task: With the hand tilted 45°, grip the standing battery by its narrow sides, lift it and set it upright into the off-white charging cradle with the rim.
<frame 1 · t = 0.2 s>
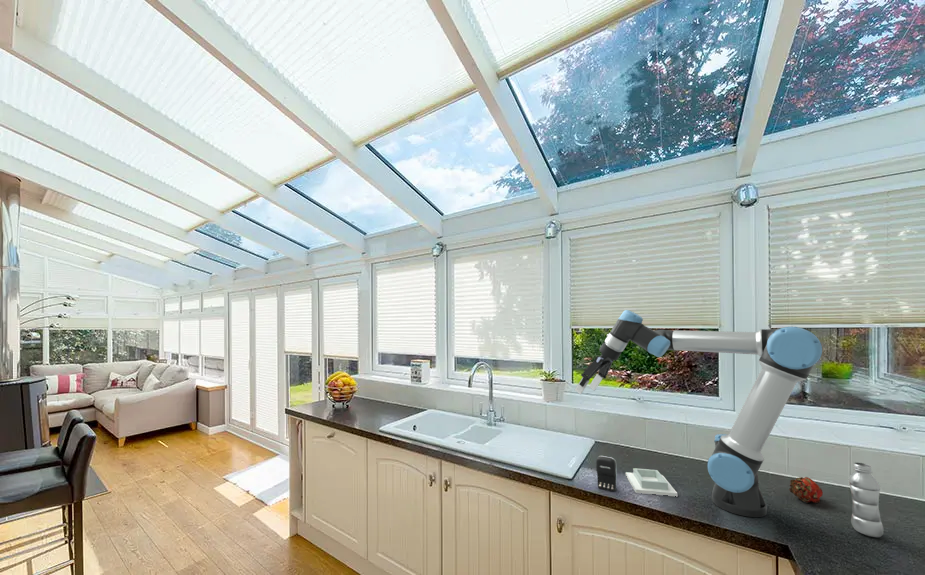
hand: (584, 390, 150), 35 cm above the worktop, tool tilted 30°, fingers open, 13 cm apart
charging cradle: (650, 485, 143), on the worktop
plastic bottle: (867, 535, 111), on the worktop
battery: (606, 489, 139), on the worktop
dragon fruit: (806, 500, 132), on the worktop
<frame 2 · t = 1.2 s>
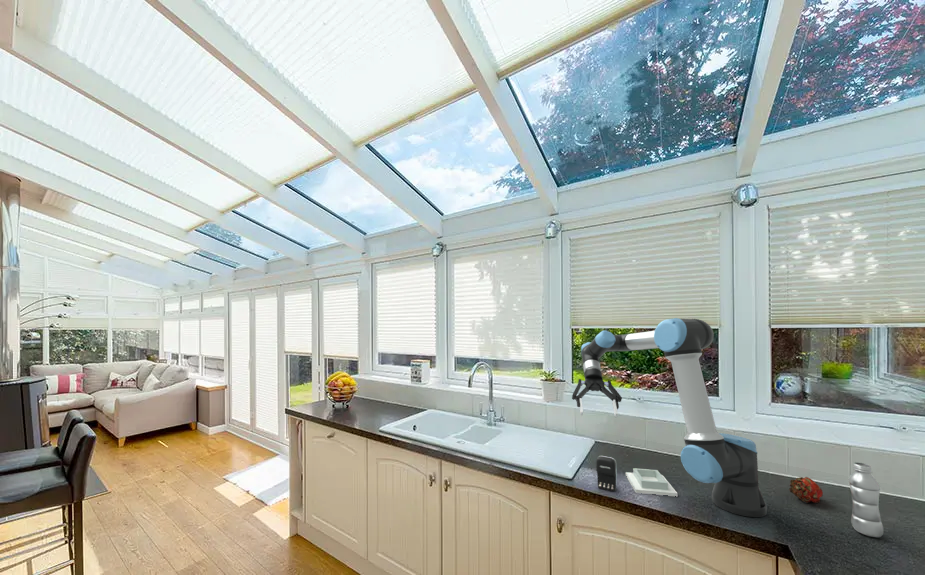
hand: (599, 414, 154), 24 cm above the worktop, tool tilted 45°, fingers open, 13 cm apart
nothing on the worktop moved.
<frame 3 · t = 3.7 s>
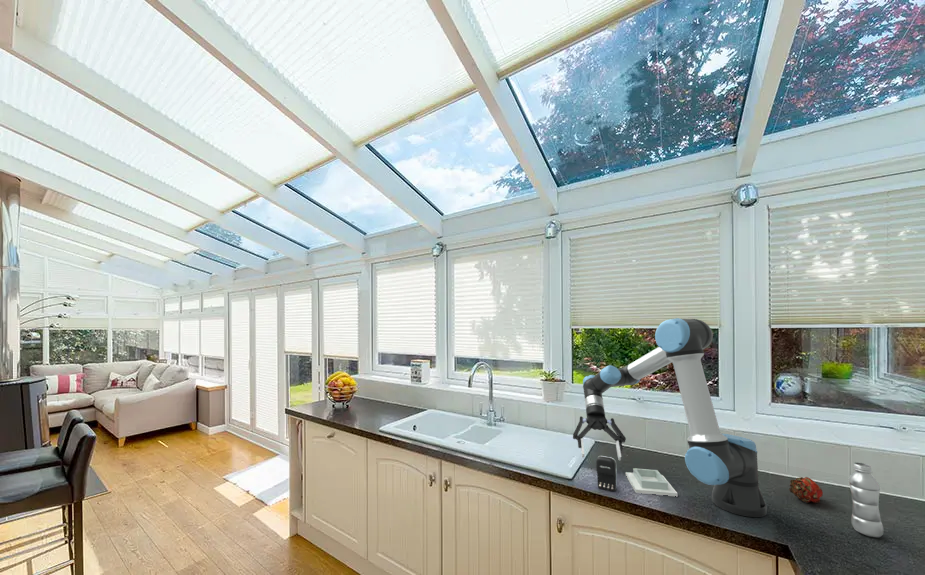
hand: (601, 457, 145), 10 cm above the worktop, tool tilted 45°, fingers open, 13 cm apart
nothing on the worktop moved.
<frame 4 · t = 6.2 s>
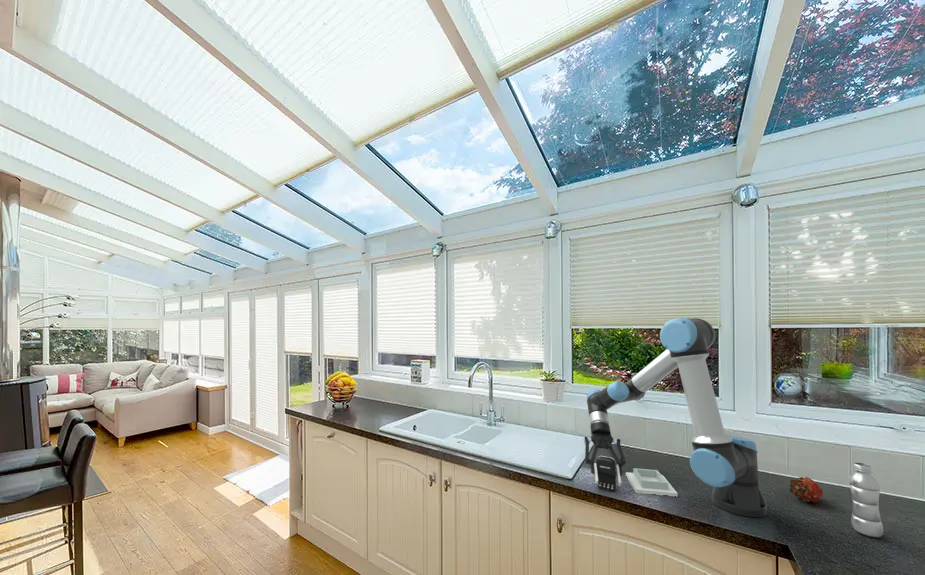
hand: (608, 483, 136), 4 cm above the worktop, tool tilted 45°, fingers closed on battery, 7 cm apart
battery: (606, 489, 139), on the worktop, touching gripper
everything else where it was.
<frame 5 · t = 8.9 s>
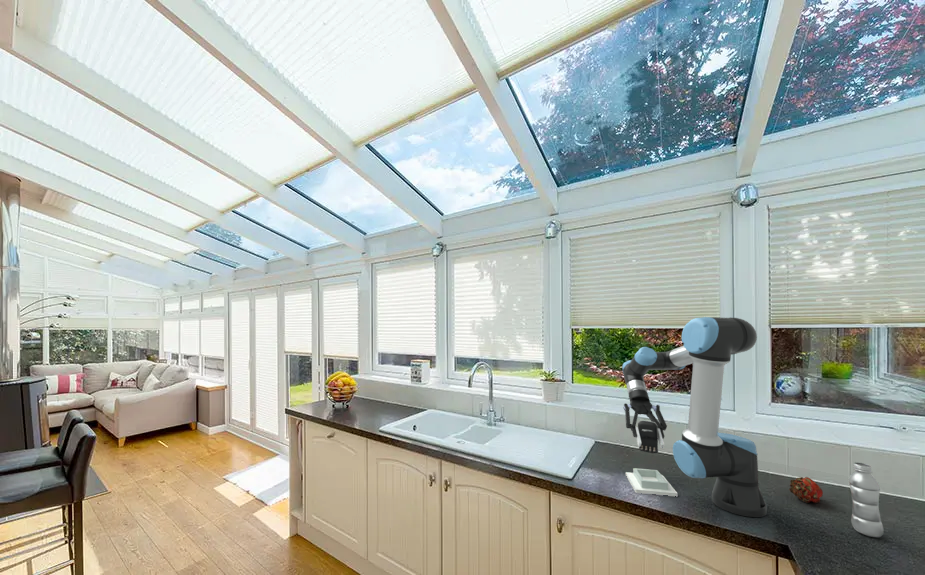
hand: (651, 445, 141), 16 cm above the worktop, tool tilted 45°, fingers closed on battery, 7 cm apart
battery: (648, 452, 144), point 12 cm above the worktop, touching gripper
everything else where it was.
when the fingers open (6 cm above the worktop, at t = 11.6 s): battery drops 1 cm, resting on charging cradle.
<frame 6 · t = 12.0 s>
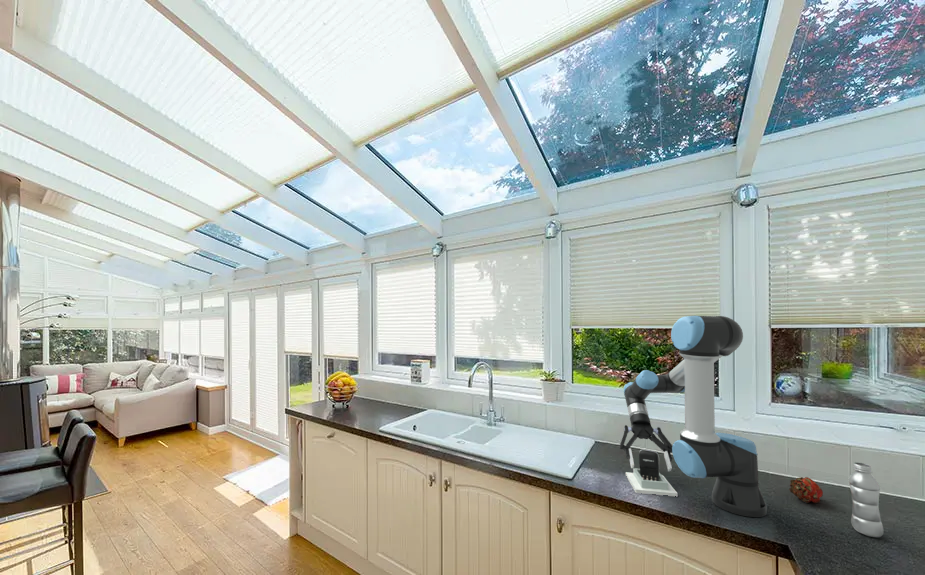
hand: (651, 468, 141), 7 cm above the worktop, tool tilted 45°, fingers open, 12 cm apart
battery: (649, 482, 143), point 1 cm above the worktop, touching charging cradle
everything else where it was.
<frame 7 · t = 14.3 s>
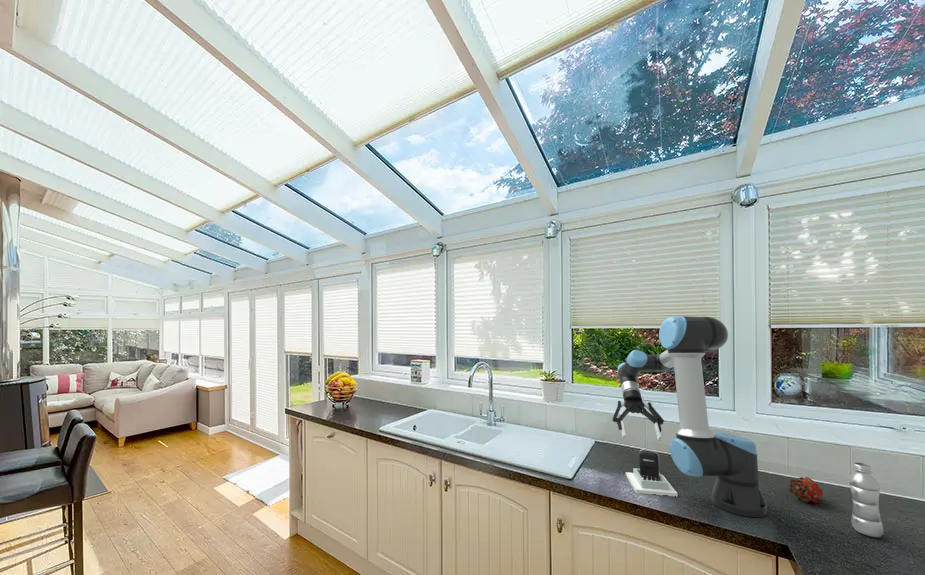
hand: (641, 437, 153), 15 cm above the worktop, tool tilted 45°, fingers open, 13 cm apart
nothing on the worktop moved.
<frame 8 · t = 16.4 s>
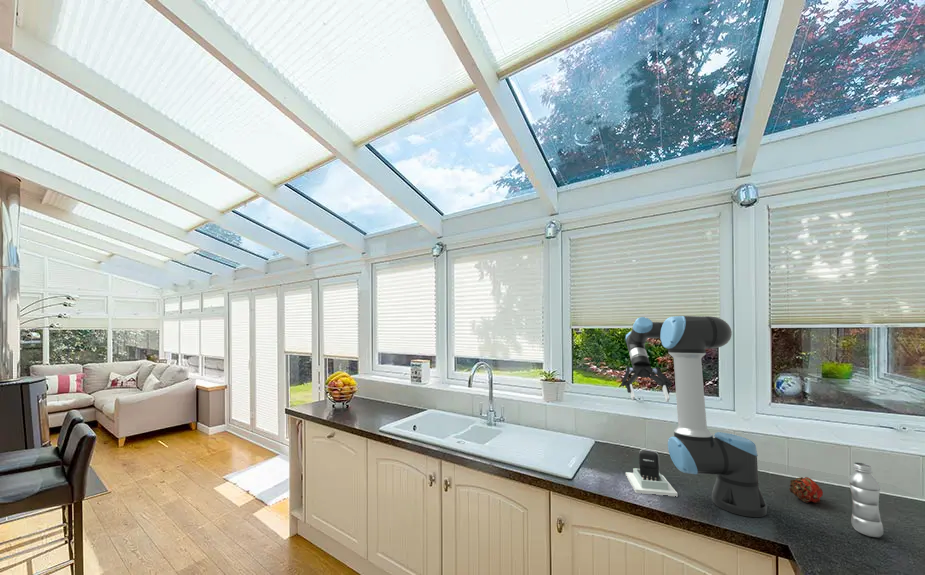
hand: (650, 399, 158), 30 cm above the worktop, tool tilted 45°, fingers open, 13 cm apart
nothing on the worktop moved.
at the end: battery 0.1 cm off-centre on the charging cradle, point 1.0 cm above the charging cradle's base; battery tilted 0°; the gripper is holding nothing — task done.
